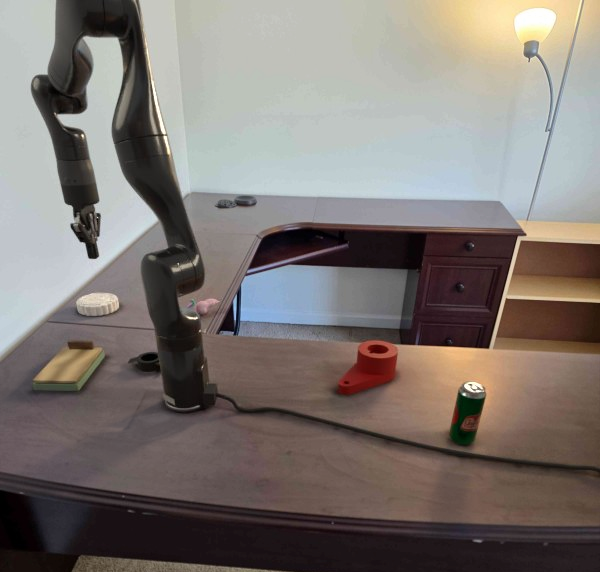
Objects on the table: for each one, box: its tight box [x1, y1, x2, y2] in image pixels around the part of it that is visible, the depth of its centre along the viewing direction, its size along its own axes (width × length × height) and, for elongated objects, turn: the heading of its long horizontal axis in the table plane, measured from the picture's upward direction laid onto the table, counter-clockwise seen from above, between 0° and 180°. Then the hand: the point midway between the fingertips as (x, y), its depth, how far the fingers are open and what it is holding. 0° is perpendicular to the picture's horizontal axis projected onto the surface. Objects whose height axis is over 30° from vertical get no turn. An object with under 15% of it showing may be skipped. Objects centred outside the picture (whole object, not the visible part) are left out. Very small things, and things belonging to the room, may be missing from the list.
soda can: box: [448, 381, 487, 446], centre depth 95 cm, size 5×5×12 cm
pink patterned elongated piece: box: [186, 298, 221, 316], centre depth 148 cm, size 6×6×15 cm
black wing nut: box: [127, 351, 161, 373], centre depth 121 cm, size 8×10×3 cm
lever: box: [337, 339, 399, 396], centre depth 116 cm, size 18×9×7 cm, turn 136°
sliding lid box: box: [32, 349, 106, 392], centre depth 118 cm, size 10×17×2 cm, turn 179°
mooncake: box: [75, 291, 120, 317], centre depth 152 cm, size 12×12×4 cm
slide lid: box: [32, 339, 103, 383], centre depth 117 cm, size 10×17×3 cm, turn 179°
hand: (94, 258), depth 120 cm, fingers closed
